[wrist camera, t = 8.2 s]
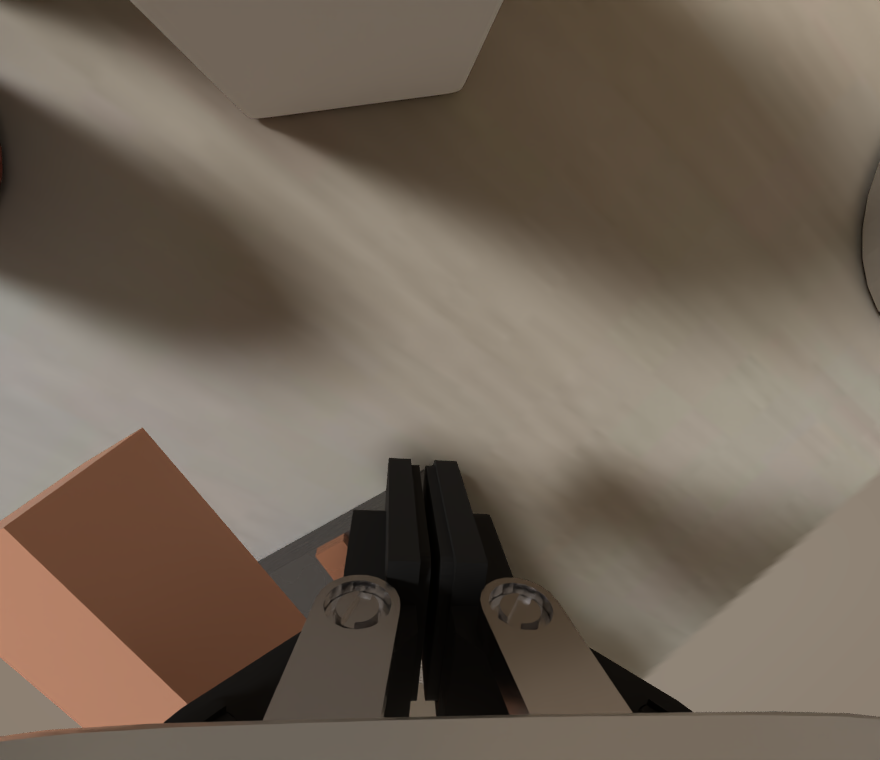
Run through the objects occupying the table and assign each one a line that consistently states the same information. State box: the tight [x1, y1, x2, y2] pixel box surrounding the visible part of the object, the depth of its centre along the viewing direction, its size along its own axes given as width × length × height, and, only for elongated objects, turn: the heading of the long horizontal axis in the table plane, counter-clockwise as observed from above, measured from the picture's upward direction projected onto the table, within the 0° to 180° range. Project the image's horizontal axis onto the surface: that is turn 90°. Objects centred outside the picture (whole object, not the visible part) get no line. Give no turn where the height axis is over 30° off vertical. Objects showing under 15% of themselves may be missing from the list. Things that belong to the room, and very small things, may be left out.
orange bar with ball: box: [0, 428, 436, 728], centre depth 11 cm, size 16×6×4 cm, turn 30°
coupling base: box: [258, 465, 433, 684], centre depth 18 cm, size 10×10×6 cm
